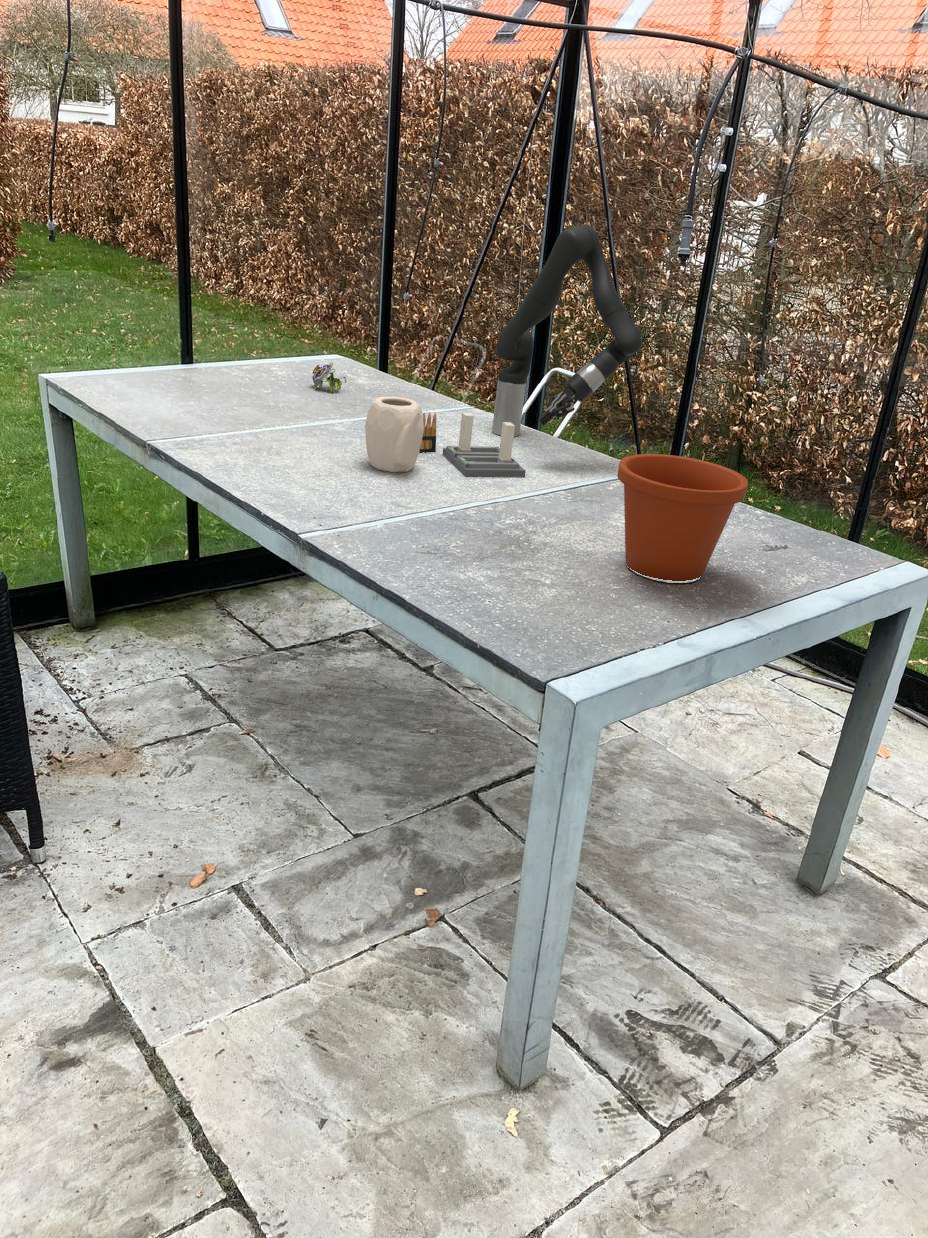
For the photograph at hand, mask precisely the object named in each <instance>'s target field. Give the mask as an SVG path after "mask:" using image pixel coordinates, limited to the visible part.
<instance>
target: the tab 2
mask: <svg viewBox="0 0 928 1238" xmlns="http://www.w3.org/2000/svg"><path fill="white" fill-rule="evenodd" d="M514 430H515V425H513V424H512V423H511V422H503V424H502V432H501V435H500V441H499V442H500V443H499V448H500V449H499V456H497V462H498V463H512V460H511V458H512V453H513V452H512V451H513V446H514V445H513V444H514V438H515V436H514Z"/></svg>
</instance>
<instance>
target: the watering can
mask: <svg viewBox="0 0 928 1238" xmlns="http://www.w3.org/2000/svg"><path fill="white" fill-rule="evenodd" d="M421 407H422V406H421V405H420V404H419V403H418V402H416V401H415V400H413V399H411V398H406V397H401V396H379V397H377V398H375V399H374V400H373V401H372V402H371V404H370V407H369V409H368V412H367V414H366V419H365V424H364V429H365V430H364V431H365V433H364V434H365V445H366V453H367V457H368V462H369V464H370V466H372V467H373V468H375V469H376V470H379V471H386V472H389V473H400V472H403V473H406V472H409V471H411V470H412V469H413V468H414V466H415V464H416V462H417V459H418V456H419V454H420V453H419V451H420V446H421V442H422V437H423V433H424V422H423V411H422V408H421Z"/></svg>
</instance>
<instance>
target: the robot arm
mask: <svg viewBox="0 0 928 1238" xmlns="http://www.w3.org/2000/svg"><path fill="white" fill-rule="evenodd" d="M579 261H583V262H584V263H585V265H586V266H587V269H588V270H589V271H588V272H589V273H590V278H591V285H592V298H593V302H594V305H595V308H596V310H597V312H598V314H599V316H600V319H601V320H602V322H603V323H604V325H605V327H607V329H609V330H610V331H611V334H612V335H613V337H614V339H613V340H612V342H610V343H609V344H608V345H607V346H606V347H605V348H604V349H603V350H602V351H600V352H599V353H598V354H597V355H595V356H594V357H593V358H591V360H590V361H588V363H586V364H585V365H583V366H582V367H581V368H580V369H578V370H577V372H575V373H574V374H573V375H572V376H571V377H570V378H569V379H568V380H566V381H565V385H564V386H565V388H564V390H561V391H560V392H559V393H558V394H556V393H552V395H551V396H550V398H549V401H548V402H547V404H546V406H545V408H546V411H545V412H544V413H543V414H541V415H540V416H539V418H537V421H538V422H539V423H540V425H541V426H545V425H546V424H547V423H549V422H550V421H551V420H552V418H553V419H555V418H561V417H564V416H565V415H567V414H570V413H572V412H574V411H575V409H576V408H575V407H574V405H576V403H577V402H579V403H584V401H585V400H587V398H589V397H590V396H591V395H592V394H593V393H594V392H596V390H597V389H598V388H599V387H601V386H602V384H603V383H605V381H606V380H607V379H608V378H609V377H611V376H612V375H613V374H614V373H615V372H616V370H617V369H618V368H619V367H620V366H622V365H623V364H624V363H625V362H627V360H629V359H630V358H631V357H633V356H634V355H635V354H636V353H637V352H638V351H640V348H641V346H642V343H643V341H642V336H641V334H640V331H639V329H638V328H637V326H636V325H635V322H634V321H633V320H632V319H631V317H630V316H629V315H628V313H627V310H626V308H625V306H624V304H623V302H622V300H621V298H620V296H619V294H618V291H617V290H616V287H615V285H614V282H613V279H612V277H611V274H610V271H609V268H608V265H607V261H606V258H605V255H604V252H603V249H602V246H601V241H600V239H599V237H598V234H597V233H596V230H595V229H594V228H593V226H591V225H589V224H586V223H581V224H577V225H575V226H572V227H568V228H566V229H564V230H563V231H561V232H560V234H559V235H558V236H557V238H556V240H555V243H554V245H553V246H552V249H551V252H550V253H549V256H548V258H547V260H546V262H545V264H544V265H543V267H542V268H541V270H540V272H539V273H538V275H537V277H536V279H535V280H534V282H533V283H532V285H531V286H530V289H529V290H528V292H527V293H526V295H525V297H524V298H523V300H522V302H521V304H520V306H519V307H518V309H517V310H516V312H515V313H514V314H513V317H511V319H510V321H508V323H507V324H506V325H505V327H504V328H503V329H502V331H500V333H499V336H498V338H497V340H496V343H495V344H496V346H495V352H496V355H497V356H498V358H500V359H501V360H504V361H512V362H511V364H509V365H508V366H507V367H504V368H503V369H500V371H499V372H498V376H497V386H496V393H495V402H494V409H493V410H494V412H493V420H492V427H491V432H492V433H493V434H494V435H497V436H501V432H502V424H503V422H511V423H512V424H513V425H515V430H514V437H518V436H520V432H521V424H522V417H523V409H524V403H525V401H524V400H525V394H526V388H527V386H526V385H527V379H528V376H529V374H530V371H531V366H532V365H531V364H532V359H533V355H534V354H533V353H534V347H535V346H534V345H535V344H534V337H533V334H532V333H531V332H530V331H529V330H530V329H531V328H533V327H535V326H536V325H538V324H539V323H541V322H542V321H544V320H546V319H547V317H549V316H550V314H551V313H552V312H553V311H554V309H555V308H556V306H557V304H558V303H559V301H560V300H561V297H562V294H563V282H564V279H565V277H566V275H567V274H568V273H569V272H570V270H571V269H572V268H573V266H574V265H575V264H576V263H577V262H579Z"/></svg>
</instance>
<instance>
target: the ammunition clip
mask: <svg viewBox="0 0 928 1238" xmlns="http://www.w3.org/2000/svg"><path fill="white" fill-rule="evenodd" d="M422 414H423V422H424V433H423V437H422V442H421V446H420V451H419V454H427V453H426V452H435V453H436V451H437V413H436V412H434V413H433V416H432V415H431V414H432V413H431V412H429V413H428V414H427V419H426V413H425V412H422ZM423 452H425V453H423Z"/></svg>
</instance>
